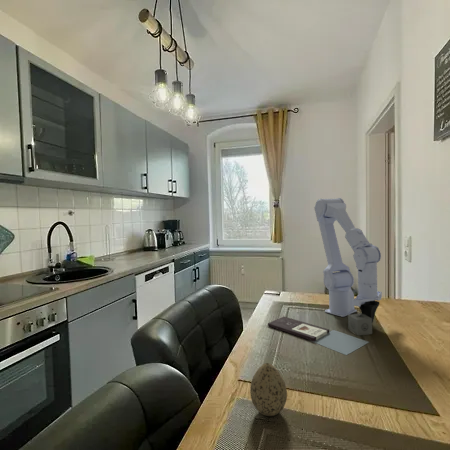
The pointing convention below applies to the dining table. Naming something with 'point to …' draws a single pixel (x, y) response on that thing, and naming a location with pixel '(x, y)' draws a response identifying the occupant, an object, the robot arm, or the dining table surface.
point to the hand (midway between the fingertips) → (368, 322)
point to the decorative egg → (268, 390)
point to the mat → (340, 342)
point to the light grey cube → (360, 324)
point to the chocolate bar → (299, 328)
